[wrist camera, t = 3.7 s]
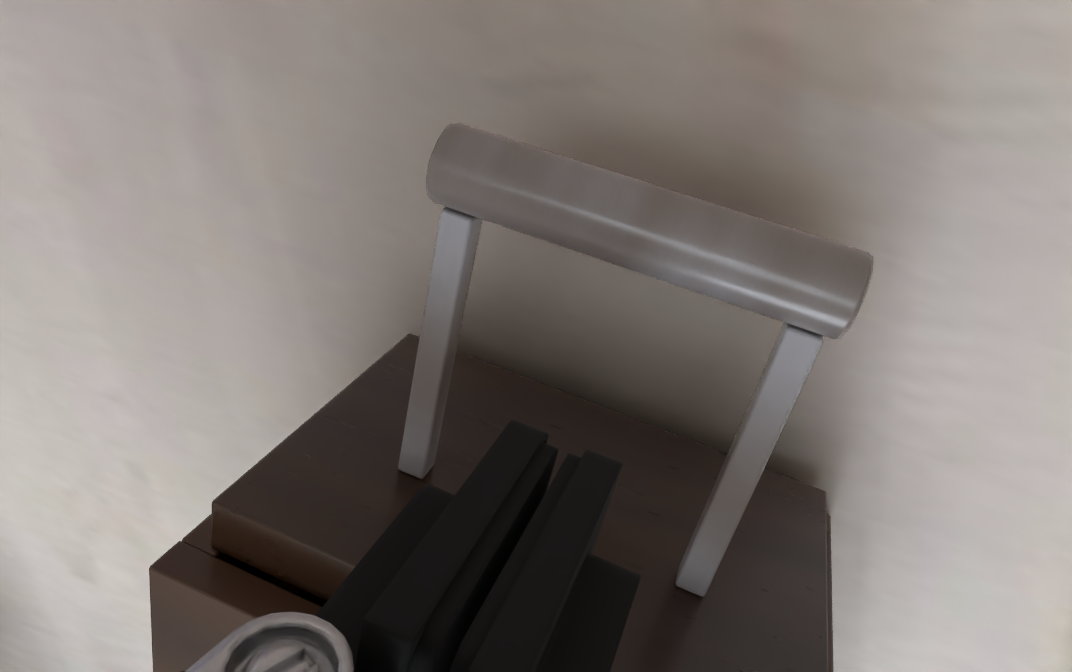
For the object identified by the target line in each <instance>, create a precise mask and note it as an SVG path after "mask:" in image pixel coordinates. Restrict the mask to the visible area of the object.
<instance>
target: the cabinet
mask: <svg viewBox="0 0 1072 672" xmlns="http://www.w3.org/2000/svg"><path fill="white" fill-rule="evenodd" d="M826 523H827V614H828V672H833V629H832V574H831V536H830V535H831V524H830V516H829V515H827V514H826ZM211 535H212V514H211V515H209V516H208V517H207V518H206V519H205V520H204V521H203V522H201V523H200V524H199V525H198V526H197V527H196V528H195V529H193V530H192V531H191V532H190V533H189V534H188V535H187V536H185V537H184V538H183V540H182V541H179V542H178V543H177V544H175V545H174V546H173V547H172V548H171V549H170V550H168V551H167V552H166V553H165V554H164V555H163V556H162V557H160V558H159V559H158V560H157V561H156V562H155V563H154V564H152V565H151V566H150V568H149V576H150V602H151V628H152V654H153V672H180V671H185V670H187V669H188V668H189V667H191V666H192V665H193V664H194V663H195V662H197V661H198V660H199V659H200V658H201V657H203V656H204V655H205V654H206V653H208V652H209V651H210V650H211V649H212V648H214V647H215V646H216V645H217V644H218V643H220V642H221V641H222V640H223V639H224V638H226V637H227V636H228V635H229V634H231V633H232V632H233V631H235V630H236V629H238V628H239V627H241V626H243V625H244V624H246V623H247V622H249V621H250V620H253V619H256V618H259V617H262V616H265V615H268V614H271V613H281V612H299V613H304V614H310V615H314V616H315V615H316V614H317V613H318V612H319V610H320V609H321V608H322V607H321V606H319V605H317V604H315V603H312V602H310V601H308V600H306V599H304V598H302V597H300V596H297V595H295V594H293V593H291V592H289V591H287V590H285V589H282V588H280V587H278V586H276V585H274V584H272V583H270V582H267V581H268V580H269V579H270V578H271V577H272V575H270V574H268V573H266V572H263V571H261V570H259V569H257V568H255V567H253V566H250V565H248V564H246V563H244V562H242V561H240V560H238V559H235V558H233V557H231V556H229V555H227V554H225V553H222V552H220V551H218V550H216V549H214V548H213V547H212V546H211Z"/></svg>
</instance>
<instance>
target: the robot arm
mask: <svg viewBox="0 0 1072 672" xmlns="http://www.w3.org/2000/svg"><path fill="white" fill-rule="evenodd" d="M547 441H548V433H546V432H544V431H541V430H539V429H536V428H534V427H531V426H529V425H526V424H524V423H521V422H519V421H516V420H514V419H513V420H511V421H510V422H509V423H508V424H507V426H506V427H505V429H504V430H503V431H502V433H501V434H500V435H499V437H498V438H497V439H496V441H495V442H494V443H493V445H492V446H491V447H490V449H489V450H488V451H487V453H486V454H485V455H484V457H483V458H482V459H481V461H480V462H479V463H478V465H477V466H476V468H475V469H474V470H473V472H472V473H471V474H470V476H469V477H468V478H467V480H466V481H465V482H464V484H463V485H462V486H461V488H460V489H459V490H458V492H457V493H456V494H455V495H453V494H451V493H449V492H446V491H444V490H442V489H439V488H437V487H435V486H432V485H430V484H426V485H424V486H422V487H421V488H420V489H419V490H418V491H417V493H416V494H415V495H414V496H413V497H412V499H411V500H410V501H409V502H408V503H407V505H406V506H405V507H404V508H403V510H402V511H401V512H400V513H399V514H398V516H397V517H396V518H395V519H394V520H393V522H392V523H391V524H390V525H389V527H388V528H387V529H386V530H385V531H384V533H383V534H382V535H381V536H380V537H379V539H378V540H377V541H376V542H375V544H374V545H373V546H372V547H371V548H370V550H369V551H368V552H367V553H366V554H365V556H364V557H363V558H362V559H361V561H360V562H359V563H358V564H357V565H356V567H355V568H354V569H353V570H352V571H351V573H350V574H349V575H348V576H347V578H346V579H345V580H344V581H343V582H342V584H341V585H340V586H339V587H338V588H337V590H336V591H335V592H334V593H333V595H332V596H331V597H330V598H329V599H328V601H327V602H326V603H325V604H324V606H323V607H322V608H321V609H320V610H319V612H318V613H317V614H316V615H315V616H314V615H310V614H304V613H299V612H281V613H271V614H268V615H265V616H262V617H259V618H256V619H253V620H250V621H249V622H247V623H246V624H244V625H243V626H241V627H239V628H238V629H236V630H235V631H233V632H232V633H231V634H229V635H228V636H227V637H226V638H224V639H223V640H222V641H221V642H220V643H218V644H217V645H216V646H215V647H214V648H212V649H211V650H210V651H209V652H208V653H206V654H205V655H204V656H203V657H201V658H200V659H199V660H198V661H197V662H195V663H194V664H193V665H192V666H191V667H189V668H188V669H187V670H185V671H180V672H610V671H611V668H612V664H613V661H614V658H615V655H616V652H617V649H618V646H619V643H620V640H621V637H622V634H623V631H624V627H625V624H626V621H627V618H628V615H629V612H630V609H631V606H632V603H633V600H634V597H635V594H636V590H637V587H638V584H639V581H640V577H641V575H639V574H637V573H634V572H632V571H630V570H627V569H625V568H623V567H621V566H618V565H616V564H614V563H611V562H609V561H607V560H604V559H602V558H600V557H597V556H595V555H593V554H592V552H593V549H594V546H595V543H596V540H597V537H598V535H599V532H600V529H601V526H602V523H603V520H604V518H605V515H606V512H607V509H608V506H609V503H610V500H611V498H612V495H613V492H614V489H615V486H616V483H617V480H618V478H619V475H620V472H621V469H622V465H623V463H621V462H618V461H616V460H613V459H611V458H608V457H606V456H603V455H601V454H598V453H596V452H593V451H591V450H588V449H587V450H586V451H585V452H584V454H583V456H582V458H581V457H578V456H576V455H573V454H571V453H568V455H567V456H566V458H565V460H564V462H563V463H562V465H561V467H560V469H559V470H558V472H557V474H556V476H555V477H554V479H553V481H552V483H551V485H550V486H549V488H548V485H549V481H550V478H551V475H552V471H553V468H554V464H555V461H556V458H557V454H558V448H556V447H554V446H551V445H549V444H547ZM547 488H548V490H547Z"/></svg>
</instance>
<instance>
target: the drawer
mask: <svg viewBox="0 0 1072 672" xmlns="http://www.w3.org/2000/svg"><path fill="white" fill-rule="evenodd" d="M426 188H427V193H428V196H429V198H430V199H431V200H432V201H433V202H434V203H436V204H438V205H441V206H444V207H445V208H444V209H442V211H441V214H440V220H439V226H438V232H437V238H436V244H435V250H434V256H433V262H432V268H431V274H430V280H429V286H428V292H427V298H426V304H425V310H424V315H423V321H422V327H421V333H420V337H417V336H414V335H412V334H408V335H407V336H406V337H405V338H403V339H402V340H401V341H400V342H399V343H398V344H396V345H395V346H394V347H393V348H392V349H391V350H389V351H388V352H387V353H386V354H385V355H383V356H382V357H381V358H380V359H379V360H378V361H376V362H375V363H374V364H373V365H372V366H371V367H369V368H368V369H367V370H366V371H365V372H364V373H362V374H361V375H360V376H359V377H358V378H356V379H355V380H354V381H353V382H352V383H351V384H349V385H348V386H347V387H346V388H345V389H344V390H342V391H341V392H340V393H339V394H338V395H337V396H335V397H334V398H333V399H332V400H331V401H329V402H328V403H327V404H326V405H325V406H324V407H322V408H321V409H320V410H319V411H318V412H317V413H315V414H314V415H313V416H312V417H311V418H310V419H308V420H307V421H306V422H305V423H304V424H302V425H301V426H300V427H299V428H298V429H297V430H295V431H294V432H293V433H292V434H291V435H290V436H288V437H287V438H286V439H285V440H284V441H283V442H281V443H280V444H279V445H278V446H277V447H275V448H274V449H273V450H272V451H271V452H270V453H268V454H267V455H266V456H265V457H264V458H263V459H261V460H260V461H259V462H258V463H257V464H256V465H254V466H253V467H252V468H251V469H250V470H248V471H247V472H246V473H245V474H244V475H243V476H241V477H240V478H239V479H238V480H237V481H236V482H234V483H233V484H232V485H231V486H230V487H229V488H227V489H226V490H225V491H224V492H223V493H221V494H220V495H219V496H218V497H217V498H216V499H214V500H213V502H212V535H211V546H212V547H213V548H214V549H216V550H218V551H220V552H222V553H225V554H227V555H229V556H231V557H233V558H235V559H238V560H240V561H242V562H244V563H246V564H248V565H250V566H253V567H255V568H257V569H259V570H261V571H263V572H266V573H268V574H270V575H272V577H271V578H270V579H269V580H268V581H267V582H270V583H272V584H274V585H276V586H278V587H280V588H282V589H285V590H287V591H289V592H291V593H293V594H295V595H297V596H300V597H302V598H304V599H306V600H308V601H310V602H312V603H315V604H317V605H319V606H321V607H323V606H324V604H325V603H326V602H327V601H328V599H329V598H330V597H331V596H332V595H333V593H334V592H335V591H336V590H337V588H338V587H339V586H340V585H341V584H342V582H343V581H344V580H345V579H346V578H347V576H348V575H349V574H350V573H351V571H352V570H353V569H354V568H355V567H356V565H357V564H358V563H359V562H360V561H361V559H362V558H363V557H364V556H365V554H366V553H367V552H368V551H369V550H370V548H371V547H372V546H373V545H374V544H375V542H376V541H377V540H378V539H379V537H380V536H381V535H382V534H383V533H384V531H385V530H386V529H387V528H388V527H389V525H390V524H391V523H392V522H393V520H394V519H395V518H396V517H397V516H398V514H399V513H400V512H401V511H402V510H403V508H404V507H405V506H406V505H407V503H408V502H409V501H410V500H411V499H412V497H413V496H414V495H415V494H416V493H417V491H418V490H419V489H420V488H421V487H422V486H424V485H426V484H430V485H432V486H435V487H437V488H439V489H442V490H444V491H446V492H449V493H451V494H453V495H455V494H456V493H457V492H458V490H459V489H460V488H461V486H462V485H463V484H464V482H465V481H466V480H467V478H468V477H469V476H470V474H471V473H472V472H473V470H474V469H475V468H476V466H477V465H478V463H479V462H480V461H481V459H482V458H483V457H484V455H485V454H486V453H487V451H488V450H489V449H490V447H491V446H492V445H493V443H494V442H495V441H496V439H497V438H498V437H499V435H500V434H501V433H502V431H503V430H504V429H505V427H506V426H507V424H508V423H509V422H510V421H511V420H513V419H514V420H516V421H519V422H521V423H524V424H526V425H529V426H531V427H534V428H536V429H539V430H541V431H544V432H546V433H548V441H547V444H549V445H551V446H554V447H556V448H558V454H557V458H556V461H555V464H554V468H553V471H552V475H551V478H550V481H549V485H548V488H549V486H550V485H551V483H552V481H553V479H554V477H555V476H556V474H557V472H558V470H559V469H560V467H561V465H562V463H563V462H564V460H565V458H566V456H567V455H568V453H571V454H573V455H576V456H578V457H581V458H582V456H583V454H584V452H585V451H586V450H587V449H588V450H591V451H593V452H596V453H598V454H601V455H603V456H606V457H608V458H611V459H613V460H616V461H618V462H621V463H623V465H622V469H621V472H620V475H619V478H618V480H617V483H616V486H615V489H614V492H613V495H612V498H611V500H610V503H609V506H608V509H607V512H606V515H605V518H604V520H603V523H602V526H601V529H600V532H599V535H598V537H597V540H596V543H595V546H594V549H593V552H592V554H593V555H595V556H597V557H600V558H602V559H604V560H607V561H609V562H611V563H614V564H616V565H618V566H621V567H623V568H625V569H627V570H630V571H632V572H634V573H637V574H639V575H641V577H640V581H639V584H638V587H637V590H636V594H635V597H634V600H633V603H632V606H631V609H630V612H629V615H628V618H627V621H626V624H625V627H624V631H623V634H622V637H621V640H620V643H619V646H618V649H617V652H616V655H615V658H614V661H613V664H612V668H611V671H610V672H828V614H827V523H826V492H825V491H823V490H820V489H817V488H815V487H812V486H810V485H807V484H804V483H802V482H799V481H796V480H794V479H791V478H788V477H786V476H783V475H781V474H778V473H775V472H773V471H770V470H767V469H765V466H766V464H767V462H768V459H769V457H770V455H771V453H772V451H773V449H774V447H775V444H776V442H777V440H778V438H779V436H780V434H781V432H782V429H783V427H784V425H785V423H786V421H787V419H788V417H789V414H790V412H791V410H792V408H793V406H794V404H795V402H796V399H797V397H798V395H799V393H800V391H801V389H802V387H803V385H804V382H805V380H806V378H807V376H808V374H809V372H810V370H811V367H812V365H813V363H814V361H815V359H816V357H817V355H818V352H819V350H820V348H821V346H822V344H823V336H825V337H828V338H831V339H840V338H841V337H842V336H843V335H844V334H845V333H846V332H847V330H848V329H849V328H850V326H851V324H852V323H853V321H854V319H855V317H856V315H857V313H858V311H859V309H860V307H861V304H862V302H863V300H864V297H865V294H866V292H867V289H868V286H869V283H870V279H871V275H872V270H873V256H872V255H870V254H869V253H868V252H865V251H862V250H859V249H856V248H853V247H849V246H846V245H843V244H840V243H837V242H834V241H831V240H827V239H824V238H821V237H818V236H815V235H812V234H808V233H805V232H802V231H799V230H796V229H793V228H789V227H786V226H783V225H780V224H777V223H774V222H771V221H767V220H764V219H761V218H758V217H755V216H752V215H748V214H745V213H742V212H739V211H736V210H733V209H729V208H726V207H723V206H720V205H717V204H714V203H711V202H707V201H704V200H701V199H698V198H695V197H692V196H688V195H685V194H682V193H679V192H676V191H673V190H669V189H666V188H663V187H660V186H657V185H654V184H651V183H647V182H644V181H641V180H638V179H635V178H632V177H628V176H625V175H622V174H619V173H616V172H613V171H609V170H606V169H603V168H600V167H597V166H594V165H591V164H587V163H584V162H581V161H578V160H575V159H572V158H568V157H565V156H562V155H559V154H556V153H553V152H549V151H546V150H543V149H540V148H537V147H534V146H531V145H527V144H524V143H521V142H518V141H515V140H512V139H508V138H505V137H502V136H499V135H496V134H493V133H489V132H486V131H483V130H480V129H477V128H474V127H471V126H467V125H464V124H461V123H453V124H450V125H448V126H447V127H446V128H445V129H444V130H443V132H442V133H441V134H440V136H439V138H438V140H437V142H436V144H435V146H434V148H433V151H432V154H431V157H430V160H429V165H428V170H427V178H426ZM482 220H485V221H488V222H491V223H494V224H497V225H500V226H503V227H506V228H509V229H512V230H515V231H518V232H520V233H523V234H526V235H529V236H532V237H535V238H538V239H541V240H544V241H547V242H550V243H553V244H556V245H559V246H562V247H564V248H567V249H570V250H573V251H576V252H579V253H582V254H585V255H588V256H591V257H594V258H597V259H600V260H603V261H606V262H608V263H611V264H614V265H617V266H620V267H623V268H626V269H629V270H632V271H635V272H638V273H641V274H644V275H647V276H649V277H652V278H655V279H658V280H661V281H664V282H667V283H670V284H673V285H676V286H679V287H682V288H685V289H688V290H691V291H693V292H696V293H699V294H702V295H705V296H708V297H711V298H714V299H717V300H720V301H723V302H726V303H729V304H732V305H735V306H737V307H740V308H743V309H746V310H749V311H752V312H755V313H758V314H761V315H764V316H767V317H770V318H773V319H776V320H779V321H781V322H784V324H783V327H782V329H781V331H780V334H779V336H778V338H777V341H776V343H775V345H774V348H773V350H772V352H771V355H770V357H769V359H768V362H767V364H766V366H765V368H764V371H763V373H762V375H761V378H760V380H759V382H758V385H757V387H756V389H755V392H754V394H753V396H752V399H751V401H750V403H749V405H748V408H747V410H746V412H745V415H744V417H743V419H742V422H741V424H740V426H739V429H738V431H737V433H736V436H735V438H734V440H733V443H732V445H731V447H730V449H729V452H728V454H725V453H723V452H720V451H717V450H715V449H712V448H709V447H707V446H704V445H702V444H699V443H696V442H694V441H691V440H688V439H686V438H683V437H680V436H678V435H675V434H673V433H670V432H667V431H665V430H662V429H659V428H657V427H654V426H652V425H649V424H646V423H644V422H641V421H638V420H636V419H633V418H630V417H628V416H625V415H623V414H620V413H617V412H615V411H612V410H609V409H607V408H604V407H601V406H599V405H596V404H594V403H591V402H588V401H586V400H583V399H580V398H578V397H575V396H572V395H570V394H567V393H565V392H562V391H559V390H557V389H554V388H551V387H549V386H546V385H544V384H541V383H538V382H536V381H533V380H530V379H528V378H525V377H522V376H520V375H517V374H515V373H512V372H509V371H507V370H504V369H501V368H499V367H496V366H493V365H491V364H488V363H486V362H483V361H480V360H478V359H475V358H472V357H470V356H467V355H464V354H462V353H459V352H457V346H458V341H459V335H460V330H461V325H462V320H463V315H464V310H465V305H466V300H467V295H468V290H469V285H470V280H471V275H472V269H473V264H474V259H475V254H476V249H477V244H478V239H479V234H480V229H481V224H482ZM548 488H547V490H548Z"/></svg>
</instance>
